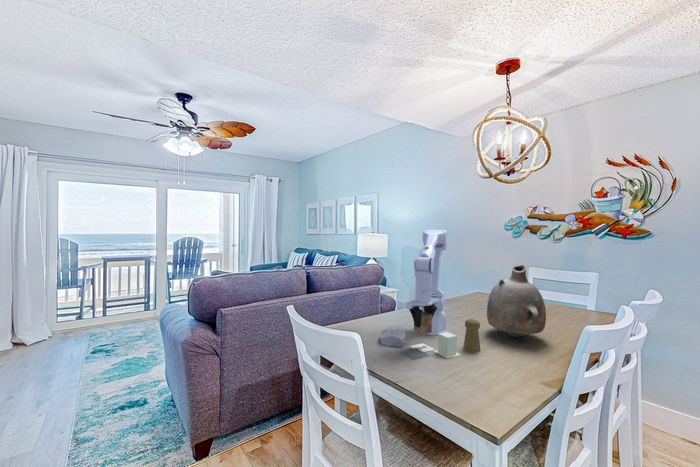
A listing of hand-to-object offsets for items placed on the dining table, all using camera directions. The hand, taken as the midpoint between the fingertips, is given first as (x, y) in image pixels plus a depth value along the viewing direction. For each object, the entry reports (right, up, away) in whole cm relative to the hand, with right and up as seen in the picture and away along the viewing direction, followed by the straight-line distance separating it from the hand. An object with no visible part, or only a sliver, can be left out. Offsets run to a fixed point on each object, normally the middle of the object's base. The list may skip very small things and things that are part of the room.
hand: (422, 325), depth 113 cm
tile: (+8, -9, -4) cm, 12 cm away
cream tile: (0, -8, 0) cm, 8 cm away
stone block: (-10, -9, +7) cm, 15 cm away
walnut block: (0, -2, 0) cm, 2 cm away
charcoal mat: (-4, -9, -5) cm, 11 cm away
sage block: (+8, -8, -4) cm, 12 cm away
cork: (+18, -9, 0) cm, 20 cm away
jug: (+42, -9, +14) cm, 45 cm away
